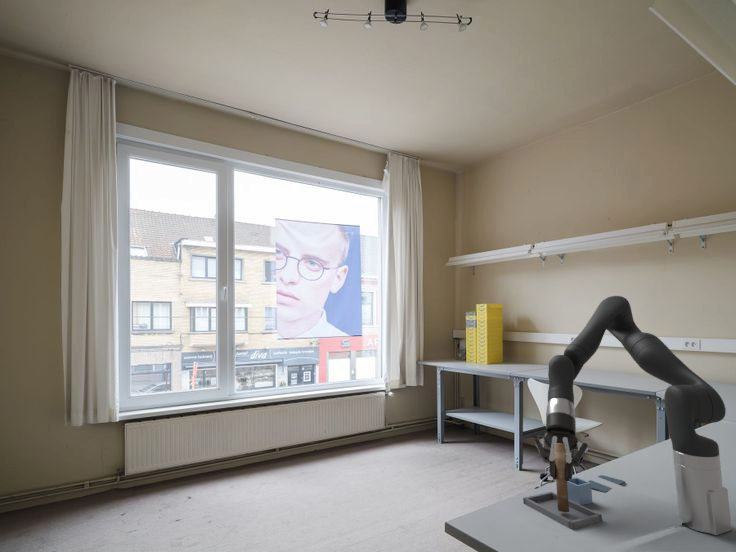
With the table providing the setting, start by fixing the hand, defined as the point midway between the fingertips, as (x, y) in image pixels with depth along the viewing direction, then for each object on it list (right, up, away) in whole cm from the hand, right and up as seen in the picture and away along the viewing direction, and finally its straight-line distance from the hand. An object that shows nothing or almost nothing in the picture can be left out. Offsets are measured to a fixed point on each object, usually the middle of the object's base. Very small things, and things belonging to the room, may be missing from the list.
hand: (560, 478), depth 109 cm
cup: (+8, -11, +7) cm, 15 cm away
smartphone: (+22, -12, +19) cm, 32 cm away
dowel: (+1, -8, 0) cm, 8 cm away
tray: (+1, -10, +1) cm, 10 cm away
